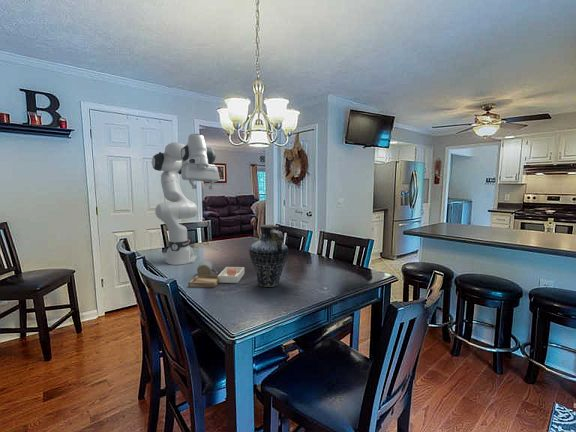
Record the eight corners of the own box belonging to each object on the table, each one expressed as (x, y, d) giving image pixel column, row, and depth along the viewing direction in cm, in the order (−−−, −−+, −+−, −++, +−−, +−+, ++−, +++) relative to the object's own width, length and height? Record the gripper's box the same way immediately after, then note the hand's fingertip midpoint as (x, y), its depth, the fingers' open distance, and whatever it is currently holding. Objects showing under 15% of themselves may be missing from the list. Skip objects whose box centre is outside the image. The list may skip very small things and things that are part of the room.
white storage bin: (226, 272, 169) (226, 267, 169) (244, 273, 169) (244, 267, 168) (217, 282, 153) (217, 275, 153) (237, 283, 152) (237, 276, 152)
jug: (242, 284, 151) (240, 225, 148) (270, 275, 164) (270, 221, 161) (268, 294, 136) (268, 229, 133) (298, 284, 150) (298, 225, 146)
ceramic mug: (196, 277, 161) (196, 264, 160) (198, 273, 169) (198, 260, 168) (216, 277, 162) (216, 263, 162) (218, 272, 170) (217, 259, 170)
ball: (228, 275, 163) (228, 266, 163) (237, 275, 163) (237, 266, 162) (225, 278, 158) (225, 268, 158) (235, 278, 158) (234, 269, 158)
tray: (198, 278, 160) (198, 274, 159) (222, 279, 159) (222, 275, 158) (188, 286, 147) (188, 282, 146) (214, 287, 146) (214, 283, 146)
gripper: (214, 167, 166) (217, 191, 164) (178, 163, 152) (181, 189, 150) (220, 163, 162) (223, 188, 160) (183, 159, 147) (187, 186, 146)
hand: (202, 188), depth 155 cm, fingers open, 8 cm apart
